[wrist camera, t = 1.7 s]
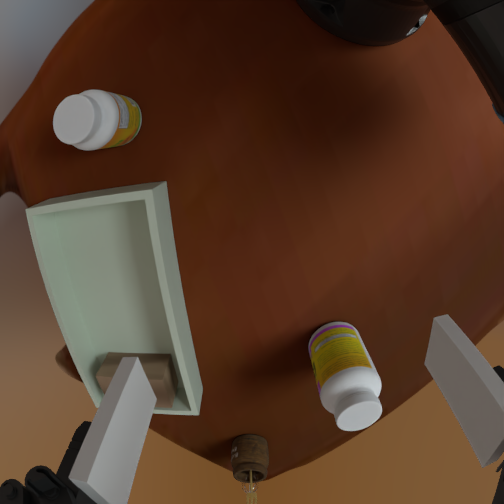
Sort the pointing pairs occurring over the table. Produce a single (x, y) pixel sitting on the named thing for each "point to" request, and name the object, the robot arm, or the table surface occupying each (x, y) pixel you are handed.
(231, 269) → the table surface
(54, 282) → the tote
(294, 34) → the table surface
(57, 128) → the supplement bottle
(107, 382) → the walnut block
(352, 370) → the supplement bottle
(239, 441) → the utensil holder
